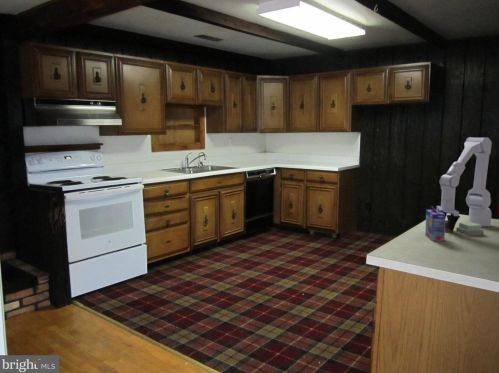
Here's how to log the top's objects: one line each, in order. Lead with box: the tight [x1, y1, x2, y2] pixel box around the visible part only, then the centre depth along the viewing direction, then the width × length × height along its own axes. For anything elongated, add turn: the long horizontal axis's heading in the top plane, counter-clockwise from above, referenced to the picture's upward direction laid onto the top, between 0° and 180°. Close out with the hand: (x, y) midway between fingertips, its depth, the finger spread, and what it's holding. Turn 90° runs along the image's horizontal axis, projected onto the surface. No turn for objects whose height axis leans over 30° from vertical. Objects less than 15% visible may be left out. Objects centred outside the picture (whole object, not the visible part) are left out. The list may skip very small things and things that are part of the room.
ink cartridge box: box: [425, 205, 446, 242], centre depth 182 cm, size 10×6×14 cm, turn 174°
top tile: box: [458, 221, 482, 231], centre depth 191 cm, size 6×6×2 cm
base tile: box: [456, 226, 485, 237], centre depth 191 cm, size 8×8×2 cm
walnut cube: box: [445, 219, 455, 233], centre depth 196 cm, size 4×4×4 cm
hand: (446, 227), depth 196 cm, fingers open, 7 cm apart
